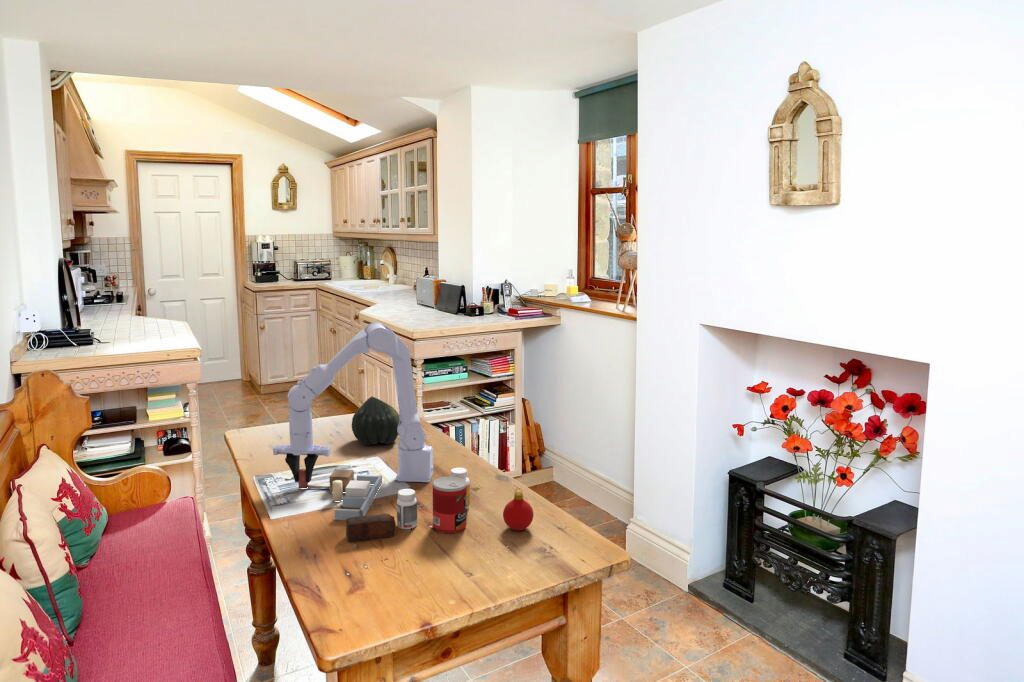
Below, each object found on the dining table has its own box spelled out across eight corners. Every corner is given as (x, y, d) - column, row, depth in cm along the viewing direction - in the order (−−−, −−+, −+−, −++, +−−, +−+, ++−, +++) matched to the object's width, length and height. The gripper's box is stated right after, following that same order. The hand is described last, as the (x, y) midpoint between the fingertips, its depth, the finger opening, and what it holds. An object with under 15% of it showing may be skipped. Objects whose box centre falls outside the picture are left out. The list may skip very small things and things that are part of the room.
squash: (394, 436, 215) (398, 391, 222) (344, 437, 215) (350, 392, 223) (401, 453, 227) (405, 410, 235) (354, 454, 227) (359, 411, 235)
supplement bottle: (458, 513, 175) (458, 476, 173) (443, 507, 178) (443, 470, 177) (474, 507, 179) (474, 470, 177) (459, 500, 182) (459, 464, 181)
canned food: (461, 535, 163) (462, 490, 161) (428, 532, 165) (428, 487, 163) (470, 521, 171) (470, 477, 169) (438, 518, 172) (438, 474, 170)
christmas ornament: (529, 521, 171) (530, 481, 170) (535, 534, 165) (536, 493, 163) (500, 523, 170) (501, 483, 168) (505, 536, 163) (506, 495, 161)
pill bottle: (420, 522, 170) (420, 489, 168) (411, 531, 165) (411, 497, 164) (402, 519, 171) (402, 486, 169) (393, 527, 167) (392, 494, 165)
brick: (348, 544, 158) (348, 525, 158) (345, 536, 162) (345, 517, 161) (396, 537, 162) (395, 518, 161) (392, 530, 166) (392, 511, 165)
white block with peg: (370, 497, 183) (369, 479, 183) (365, 505, 179) (365, 486, 178) (335, 496, 184) (335, 477, 183) (330, 504, 179) (329, 485, 178)
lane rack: (382, 484, 192) (381, 475, 191) (362, 520, 170) (362, 510, 170) (357, 483, 192) (357, 475, 192) (334, 519, 170) (334, 510, 170)
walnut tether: (354, 486, 191) (353, 468, 190) (349, 493, 186) (348, 475, 185) (302, 484, 191) (301, 466, 190) (295, 491, 186) (295, 473, 185)
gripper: (267, 435, 182) (270, 486, 184) (324, 437, 182) (326, 487, 184) (277, 427, 189) (279, 475, 191) (332, 428, 188) (333, 477, 191)
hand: (303, 481), depth 188 cm, fingers closed on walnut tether, 2 cm apart
